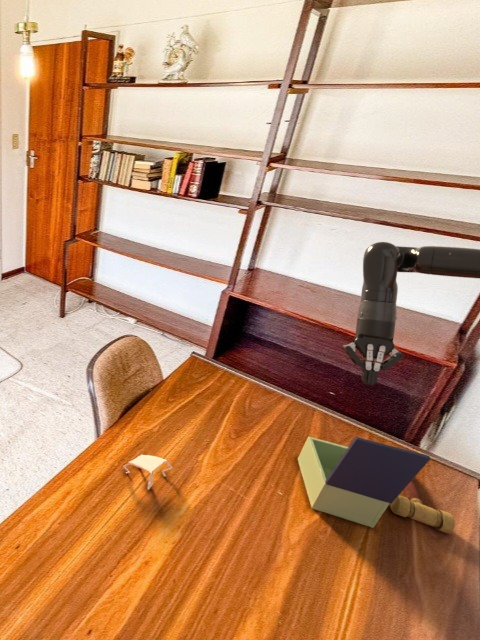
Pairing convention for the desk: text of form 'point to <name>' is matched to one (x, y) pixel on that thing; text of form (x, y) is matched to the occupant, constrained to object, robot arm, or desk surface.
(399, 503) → the gavel
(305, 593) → the desk surface
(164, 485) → the desk surface
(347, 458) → the lid
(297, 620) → the desk surface
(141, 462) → the miniature stool
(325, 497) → the box
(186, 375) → the desk surface
